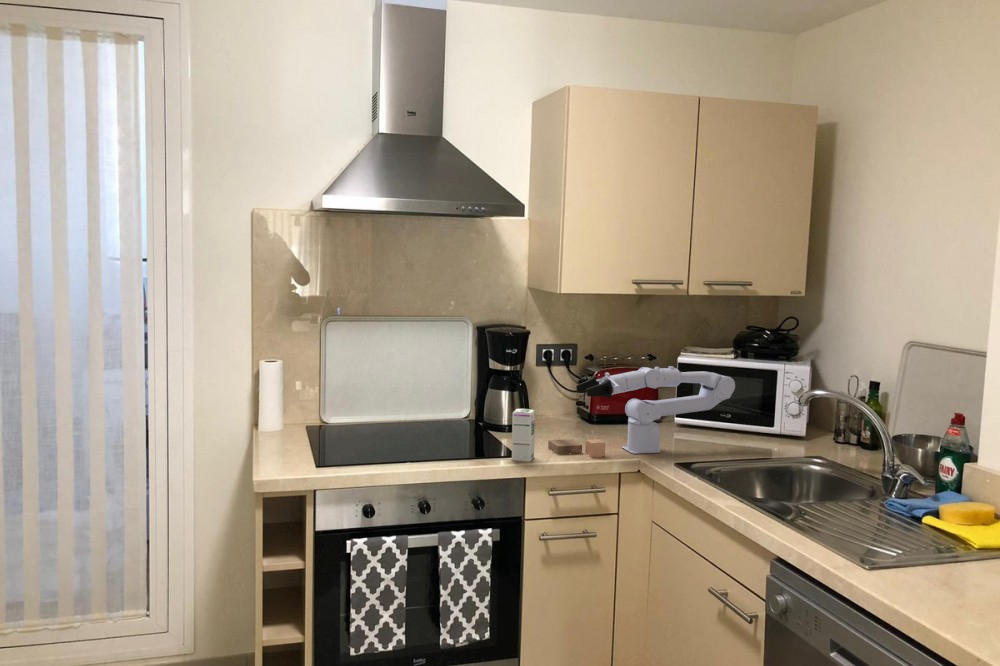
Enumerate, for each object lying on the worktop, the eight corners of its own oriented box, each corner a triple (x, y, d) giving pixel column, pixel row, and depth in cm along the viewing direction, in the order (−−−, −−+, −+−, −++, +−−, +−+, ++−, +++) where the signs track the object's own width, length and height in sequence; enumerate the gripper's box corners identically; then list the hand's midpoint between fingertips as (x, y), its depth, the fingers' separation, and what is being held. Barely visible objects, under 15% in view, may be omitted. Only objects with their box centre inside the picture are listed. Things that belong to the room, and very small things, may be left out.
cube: (598, 453, 254) (599, 439, 254) (604, 457, 250) (605, 442, 250) (585, 454, 253) (585, 439, 253) (590, 458, 249) (591, 443, 248)
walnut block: (572, 448, 261) (572, 439, 261) (581, 454, 254) (582, 445, 253) (548, 449, 259) (548, 440, 258) (557, 456, 251) (557, 446, 251)
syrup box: (530, 462, 241) (532, 412, 240) (510, 460, 243) (512, 411, 241) (534, 457, 247) (535, 409, 246) (514, 455, 248) (515, 407, 247)
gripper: (610, 367, 261) (570, 375, 257) (632, 372, 247) (590, 381, 243) (613, 389, 262) (573, 397, 258) (634, 396, 248) (593, 404, 244)
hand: (581, 391), depth 251 cm, fingers open, 7 cm apart
